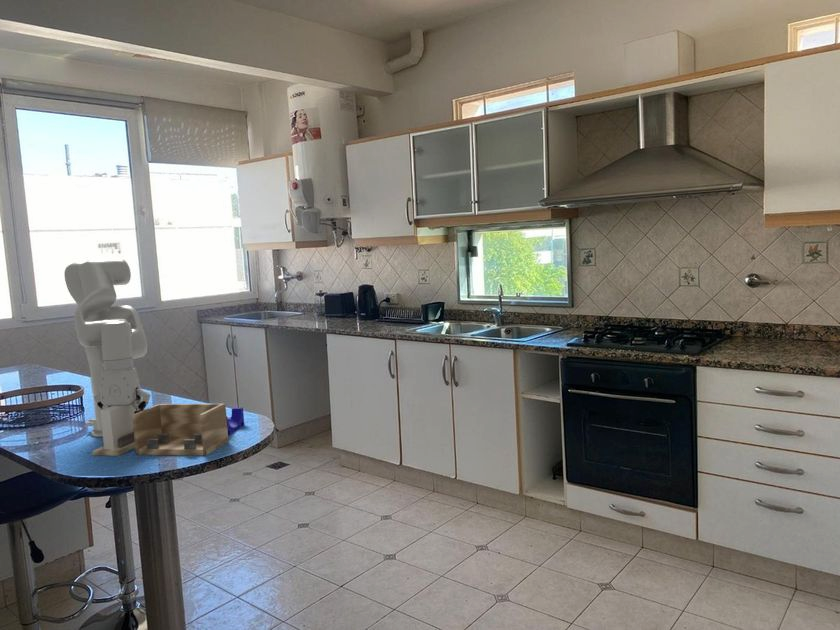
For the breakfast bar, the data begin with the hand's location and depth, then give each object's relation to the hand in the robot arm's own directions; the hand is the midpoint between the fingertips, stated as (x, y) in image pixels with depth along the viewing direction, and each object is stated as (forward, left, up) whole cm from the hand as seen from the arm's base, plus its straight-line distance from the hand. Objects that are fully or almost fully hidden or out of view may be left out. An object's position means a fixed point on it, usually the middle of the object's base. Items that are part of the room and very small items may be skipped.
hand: (124, 424), depth 181 cm
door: (0, 0, -5) cm, 5 cm away
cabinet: (+19, -2, -6) cm, 20 cm away
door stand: (0, 0, -6) cm, 6 cm away
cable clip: (+24, +14, -7) cm, 29 cm away
